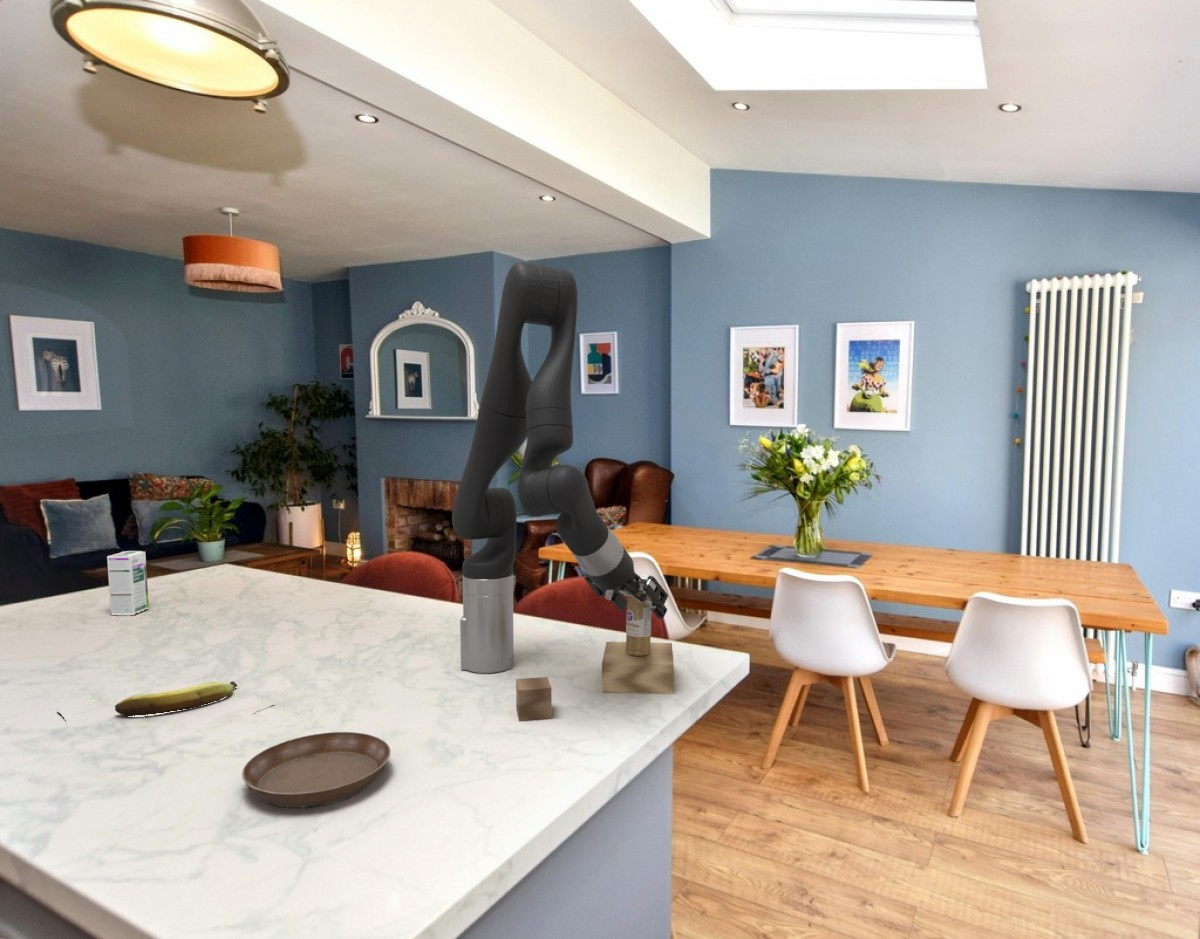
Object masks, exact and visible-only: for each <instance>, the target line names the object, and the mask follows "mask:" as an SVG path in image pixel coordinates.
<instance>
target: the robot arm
mask: <svg viewBox="0 0 1200 939" xmlns="http://www.w3.org/2000/svg"><path fill="white" fill-rule="evenodd" d="M577 317H578V288H577V282H576V279H575V276H574V274H572V272H570V271H569V270H567V269H564V268H559V267H554V266H547V265H543V264H539V263H538V264H537V263H531V262H526V261H525V262H524V261H517V262H515V263H513V264H512V265H511V266H510V268H509V270H508V272H507V274H506V277H505V280H504V283H503V288H502V293H501V300H500V306H499V312H498V318H497V325H496V332H495V338H494V345H493V350H492V355H491V358H490V364H489V367H488V368H489V369H488V372H487V377H486V380H485V384H484V387H483V391H482V395H481V399H480V403H479V407H478V413H477V418H476V422H475V428H474V432H473V436H472V442H471V445H470V450H469V453H468V458H467V460H466V464H465V467H464V470H463V474H462V476H461V479H460V482H459V484H458V488H457V490H456V494H455V497H454V500H453V505H452V510H451V511H452V512H451V513H452V514H451V522H452V529H453V531H454V534H456V536H457V537H458V538H460V539H461V540H468V541H469V540H470V541H472V540H483V539H487V541H486V543H485V544H484V545H483V547H482V548H480V549H479V550H478V551H476V552H475V553H473V554H472V555H470V556H468V557H466V558H465V559H464V560H463V561H462V614H463V615H462V617H461V618H460V620H459V623H460V624H459V626H460V628H459V629H460V630H459V632H460V640H459V642H460V670H462V671H463V670H464V671H465V670H466V671H469V672H471V673H472V672H473V673H477V674H478V673H479V674H491V673H494V674H495V673H500V672H503V671H507V670H510V669H511V668H512V667H513V666H514V664H515V652H514V651H515V650H514V648H515V646H514V641H515V640H514V636H515V635H514V634H515V633H514V564H515V563H514V562H515V560H516V542H517V541H516V540H517V539H516V538H517V519H518V518H517V517H518V515H517V506H516V501H515V497H514V495H513V494H512V492H511V491H510V490H509V489H508V488H505V487H490V486H491V485H490V484H491V483H492V481H493V479H494V478H495V476H496V474H497V473H498V471H499V470H500V469H501V468H502V467H503V466H504V465H505V464H506V463H507V462H508V461H509V460H510V458H512V456H513V455H514V454H516V453H517V451H518V450H519V449H520V448H521V447H522V445H523V444H524V442H525V441H526V444H525V445H526V446H525V449H524V453H523V459H522V463H521V467H520V472H519V475H518V482H517V494H518V495H517V496H518V499H519V502H520V505H521V508H523V510H524V511H525V512H526V513H527V514H528V515H530V516H532V517H533V516H534V517H542V516H550V515H556V514H559V515H558V517H557V520H556V523H555V529H556V533H557V534H558V536H559V538H560V539H561V541H562V542H563V543H564V545H565V546H566V547H567V548H568V550H569V551H570V552H571V553H572V555H573V557H574V559H575V560H576V562H577V564H578V565H579V567H580V568H581V569H582V570H583V571H584V572H585V576H584V578H583V579H584V581H586V583H587V584H588V586H589V587H590V588H591V590H592V591H593V592H594V594H595V595H596V596H597V597H600V598H601V597H603V596H604V598H605V599H606V600H607V601H610V602H611V603H612V604H613V606H614V607H615V608H616V610H618V611H619V612H624V611H625V609H626V608H627V598H625V597H624V596H626V597H627V596H629V597H630V598H632V599H633V600H635V601H636V602H638V603H644V604H646V605H647V606H649V607H650V609H651V612H652V613H653V614H654V615H655V617H656V618H657V619H658V620H663V619H664V618H665V616H666V615H667V612H668V608H667V607H666V605H665V604H666V601H667V600H668V597H669V594H668V593H667V592H666V590H665V589H664V588H663V586H662V585H661V584H660V583H659V582H658V580H657V578H656V577H654V576H653V575H648V576H649V577H648V579H647V580H646V579H641V577H640V576H638V575H639V574H637V572H635V566H634V565H635V564H634V560H633V558H632V556H631V555H630V553H629V552H628V551H627V550H626V548H625V547H624V545H623V544H622V543H621V542H620V540H619V538H618V537H617V535H616V534H615V533H614V532H613V531H612V530H611V529H610V528H609V527H608V525H607V524H606V522H604V520H603V518H602V517H601V516H600V514H599V512H597V509H596V506H595V502H594V500H593V497H592V493H591V491H590V487H589V486H590V485H589V481H588V480H587V477H586V476H585V473H583V472H582V471H581V470H580V469H579V468H578V467H576V466H573V465H571V464H562V465H557V466H556V465H555V466H553V462H554V460H555V459H556V458H557V457H558V456H559V455H561V454H564V453H565V452H567V451H568V450H570V449H571V448H572V446H573V444H574V430H573V429H574V427H573V414H572V413H573V410H572V395H571V394H572V385H571V384H572V374H573V373H572V372H573V364H574V362H573V361H574V355H575V354H574V353H575V342H576V341H575V340H576V332H577V330H576V328H577ZM525 324H531V325H538V326H544V327H549V328H550V334H551V335H550V336H551V337H550V338H551V340H550V345H549V349H548V352H547V354H546V357H545V359H544V360H543V363H542V364H541V366H540V368H539V369H538V371H537V373H536V374H535V377H534V378H533V380H532V378H531V376H530V373H529V370H528V368H527V365H526V362H525V360H524V356H523V352H522V336H523V335H522V334H523V330H524V327H525ZM526 439H527V440H526ZM640 587H642V588H643V591H642V593H641V595H640V597H639V596H637V595H636V594H637V593H638V591H639V589H640ZM647 595H648V596H649V597H650V599H651V601H649V600H648V599H647V598H646V596H647Z"/></svg>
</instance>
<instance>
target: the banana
mask: <svg viewBox="0 0 1200 939" xmlns="http://www.w3.org/2000/svg"><path fill="white" fill-rule="evenodd" d="M237 686H238V684H237V683H236V682H235V681H230V682H228V681H227V682H225V681H217V680H216V681H208V682H203V683H200V684H196V685H192V686H188V687H185V688H181V689H174V690H167V691H166V690H165V691H160V692H156V693H155V692H153V693H146V694H145V693H144V694H136V695H132V696H129V697H127V698H124V699H123V700H121V701H119V702H118V703H116V704H115V706H114V708H115V709H114V711H115V712H116V713H118V714H120V715H123V716H126V717H127V716H133V715H134V716H135V715H146V714H147V715H148V714H156V713H164V712H170V711H177V710H183V709H190V708H194V707H198V706H201V705H204V704H208V703H211V702H214V701H218V700H220V699H222V698H224V697H226V696H228V695H229V696H230V695H231V694H232V693H233V692H234V690H235V689H234V688H235V687H237ZM233 689H234V690H233ZM229 696H228V697H229ZM218 702H219V701H218ZM198 708H199V707H198ZM194 709H195V708H194ZM190 710H191V709H190Z"/></svg>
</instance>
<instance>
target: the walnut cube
mask: <svg viewBox="0 0 1200 939" xmlns="http://www.w3.org/2000/svg"><path fill="white" fill-rule="evenodd" d="M548 677H549V676H540V677H527V678H526V677H525V678H516V679H515V680H516V681H515V685H516V686H515V690H516V691H515V692H516V694H515V695H516V697H515V699H516V700H515V701H516V702H515V703H516V704H515V706H516V713H517V718H518V722H519V723H521V721H522V722H533V721H534V720H535V721H544V720H552V714H553V713H552V712H553V711H552V710H553V709H552V706H553V705H552V702H553V701H552V685H551V682H550V679H549V678H548Z"/></svg>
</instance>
